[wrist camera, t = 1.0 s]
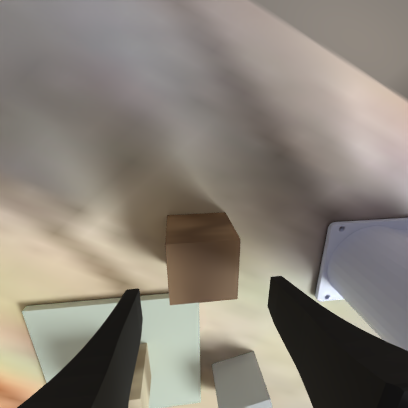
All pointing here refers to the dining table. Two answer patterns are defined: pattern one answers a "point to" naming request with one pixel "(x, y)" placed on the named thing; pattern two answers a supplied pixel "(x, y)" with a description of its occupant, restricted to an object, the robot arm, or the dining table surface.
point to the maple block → (141, 380)
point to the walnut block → (201, 258)
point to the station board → (151, 334)
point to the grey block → (240, 383)
